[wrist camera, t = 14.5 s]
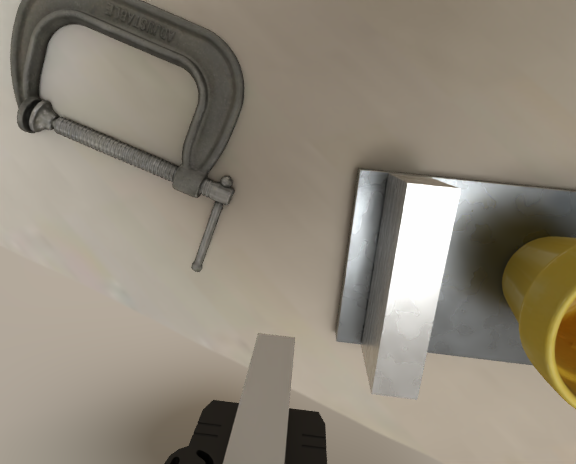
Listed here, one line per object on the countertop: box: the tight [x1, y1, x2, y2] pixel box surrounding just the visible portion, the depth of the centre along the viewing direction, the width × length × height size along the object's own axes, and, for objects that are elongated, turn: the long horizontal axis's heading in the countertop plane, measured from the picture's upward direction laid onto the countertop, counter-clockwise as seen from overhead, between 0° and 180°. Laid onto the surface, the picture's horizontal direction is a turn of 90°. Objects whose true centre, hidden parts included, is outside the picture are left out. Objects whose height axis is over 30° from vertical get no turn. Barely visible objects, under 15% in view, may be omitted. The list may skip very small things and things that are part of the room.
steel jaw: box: [361, 173, 461, 400], centre depth 27 cm, size 14×3×6 cm, turn 175°
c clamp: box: [10, 0, 244, 272], centre depth 30 cm, size 20×17×3 cm
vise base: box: [335, 168, 576, 365], centre depth 28 cm, size 14×24×8 cm, turn 85°
